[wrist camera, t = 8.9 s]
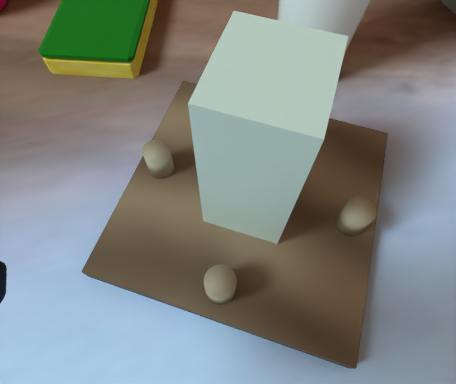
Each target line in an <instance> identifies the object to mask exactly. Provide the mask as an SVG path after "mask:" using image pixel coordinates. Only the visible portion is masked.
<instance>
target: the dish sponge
mask: <svg viewBox="0 0 456 384" xmlns="http://www.w3.org/2000/svg"><path fill="white" fill-rule="evenodd" d="M157 3H158V0H62V1H61V4H60V6H59V8H58V10H57V12H56V14H55V16H54V18H53V20H52V23H51V25H50V27H49V29H48V31H47V33H46V35H45V37H44V40H43V42H42V44H41V46H40V48H39V50H38V51H39V53H40V54H41V55H42V58H43V59H44V61H45V63H46V65H47V66H48V68H49V70H50V71H51V72H52V73H53V74H68V75H84V76H101V77H117V78H135V77H137V76H139V73H140V69H141V65H142V61H143V57H144V54H145V50H146V46H147V42H148V38H149V34H150V30H151V27H152V23H153V19H154V15H155V11H156V7H157Z"/></svg>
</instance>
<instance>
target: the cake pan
mask: <svg viewBox="0 0 456 384" xmlns="http://www.w3.org/2000/svg"><path fill="white" fill-rule="evenodd" d="M440 1H441V2H442V3H443V4H444V5H445V6H446V7H447V8H449V9H450V10H451V11H452V12H453V13H455V14H456V0H440Z"/></svg>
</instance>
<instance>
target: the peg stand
mask: <svg viewBox="0 0 456 384" xmlns="http://www.w3.org/2000/svg"><path fill="white" fill-rule="evenodd" d="M196 86H197V84H194V83H190V82H186V81H183V82H182V84H181V86H180V88H179V90H178V91H177V93H176V95H175V97H174V99H173V101H172V103H171V105H170V106H169V108H168V110H167V112H166V114H165V116H164V118H163V120H162V121H161V123H160V125H159V127H158V129H157V131H156V133H155V135H154V136H153V138H152V140H150V141H149V142H147V143H146V144H145V145H144V147H143V150H142V153H143V157H142V159H141V161H140V163H139V165H138V167H137V168H136V170H135V172H134V174H133V176H132V178H131V180H130V182H129V183H128V185H127V187H126V189H125V191H124V193H123V195H122V197H121V198H120V200H119V202H118V204H117V206H116V208H115V210H114V212H113V213H112V215H111V217H110V219H109V221H108V223H107V225H106V227H105V228H104V230H103V232H102V234H101V236H100V238H99V240H98V242H97V243H96V245H95V247H94V249H93V251H92V253H91V255H90V257H89V259H88V260H87V262H86V264H85V266H84V268H83V270H82V272H83V273H84V274H86V275H87V276H89V277H92V278H95V279H97V280H100V281H103V282H106V283H109V284H112V285H114V286H117V287H120V288H123V289H126V290H129V291H132V292H134V293H137V294H140V295H143V296H146V297H149V298H151V299H154V300H157V301H160V302H163V303H166V304H168V305H171V306H174V307H177V308H180V309H183V310H185V311H188V312H191V313H194V314H197V315H200V316H202V317H205V318H208V319H211V320H214V321H217V322H219V323H222V324H225V325H228V326H231V327H234V328H236V329H239V330H242V331H245V332H248V333H251V334H253V335H256V336H259V337H262V338H265V339H268V340H270V341H273V342H276V343H279V344H282V345H285V346H287V347H290V348H293V349H296V350H299V351H302V352H304V353H307V354H310V355H313V356H316V357H319V358H322V359H324V360H327V361H330V362H333V363H336V364H339V365H341V366H344V367H347V368H356V366H357V359H358V351H359V344H360V336H361V329H362V321H363V314H364V306H365V299H366V291H367V284H368V276H369V269H370V261H371V254H372V246H373V239H374V231H375V224H376V216H377V209H378V202H379V194H380V187H381V179H382V172H383V164H384V157H385V149H386V142H387V134H388V133H384V132H381V131H377V130H373V129H369V128H365V127H361V126H357V125H353V124H350V123H346V122H342V121H338V120H334V119H330V118H329V121H328V125H327V129H326V133H325V138H324V141H323V143H322V145H321V147H320V150H319V152H318V154H317V156H316V159H315V161H314V163H313V165H312V167H311V170H310V172H309V174H308V176H307V179H306V181H305V183H304V185H303V188H302V190H301V192H300V194H299V196H298V199H297V201H296V203H295V205H294V208H293V210H292V212H291V214H290V217H289V219H288V221H287V223H286V225H285V228H284V230H283V232H282V234H281V237H280V239H279V241H278V243H277V244H276V243H272V242H269V241H266V240H263V239H260V238H256V237H253V236H250V235H247V234H243V233H240V232H237V231H234V230H231V229H227V228H224V227H221V226H218V225H214V224H211V223H208V222H205V221H203V216H202V208H201V200H200V193H199V185H198V177H197V170H196V162H195V154H194V147H193V139H192V131H191V124H190V116H189V108H188V102H189V100H190V98H191V96H192V94H193V92H194V90H195V88H196Z"/></svg>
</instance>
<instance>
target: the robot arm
mask: <svg viewBox="0 0 456 384" xmlns="http://www.w3.org/2000/svg"><path fill="white" fill-rule="evenodd" d="M6 270H7V269H6V265H5V263H3V262H1V261H0V303H1V302H2V300H3V298H4V296H5V294H6Z"/></svg>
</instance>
